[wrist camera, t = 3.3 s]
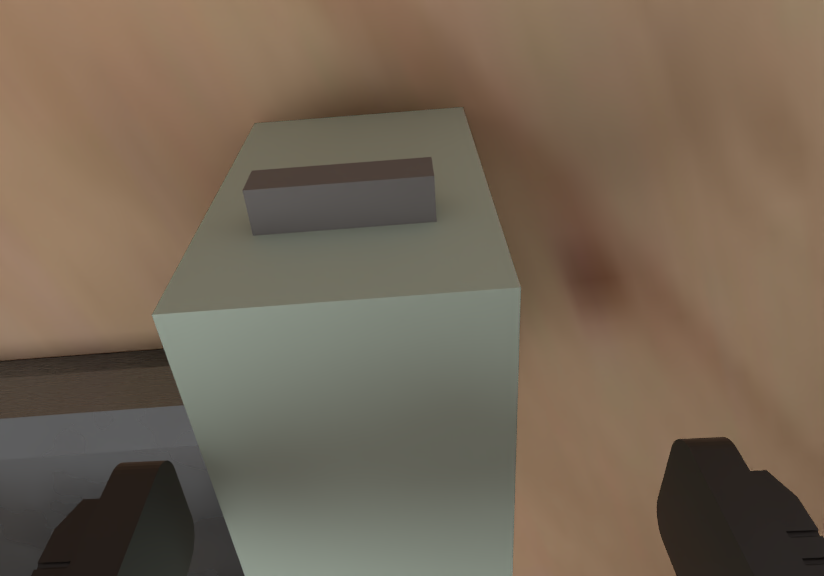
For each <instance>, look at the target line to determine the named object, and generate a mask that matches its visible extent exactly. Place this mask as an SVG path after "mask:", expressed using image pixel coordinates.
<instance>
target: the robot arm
mask: <svg viewBox="0 0 824 576" xmlns="http://www.w3.org/2000/svg"><path fill="white" fill-rule="evenodd" d="M657 519H658V525H659V530H660V534H661V537H662V540H663V543H664V545H665V548H666V550H667V553H668V555H669V558H670V560H671V563H672V565H673V568H674V570H675V573H676V575H677V576H824V538H823V536H819V533H818V528H817V527H816V525H815V524H814V522H813V521H812V519H811V517H810V516H809V514H808V513H807V511H806V510H805V508H804V506H803V505H802V503H801V502H800V500H799V499H798V497H797V496H795V495H794V494H793V493H792V492H791V491H790V490H789V489H787V488H786V487H785V486H784V485H783V484H782V483H781V482H779V481H778V480H777V479H776V478H775V477H774V476H772V475H771V474H770V473H769V472H768V471H767V470H763V471H750V470H749V468H748V467H747V465H746V463H745V461H744V460H743V458H742V456H741V455H740V453H739V451H738V450H737V448H736V447H735V445H734V444H733V443H732V441H731V440H729V439H728V438H725V437H716V438H694V439H678V440H676V441H675V442H674V443H673V445H672V448H671V452H670V455H669V459H668V463H667V466H666V470H665V474H664V478H663V481H662V485H661V489H660V492H659V496H658V500H657ZM194 538H195V533H194V522H193V518H192V515H191V512H190V510H189V507H188V504H187V501H186V498H185V496H184V493H183V490H182V487H181V484H180V482H179V479H178V476H177V473H176V470H175V468H174V465H173V464H172V463H171V462H170V461H168V460H166V461H144V462H123V463H120V464H118V465H117V466H116V467H115V468H114V470H113V471H112V473H111V475H110V477H109V480H108V482H107V484H106V486H105V488H104V490H103V493H102V495H101V497H100V499H83V500H82V501H81V502H80V503H79V504H78V505H77V506H76V507H75V508H74V509H73V510H72V511H71V512H70V513H69V514H68V515H67V516H66V518H65V519H64V520H63V521H62V522H61V523H60V524H59V525H58V526H57V527H56V528H55V529H54V531H53V533H52V535H51V537H50V539H49V541H48V543H47V545H46V547H45V549H44V551H43V553H42V555H41V557H40V559H39V561H38V567H37V569H36V570H34V571H33V573H32V575H31V576H187V574H188V570H189V567H190V563H191V560H192V555H193V550H194Z"/></svg>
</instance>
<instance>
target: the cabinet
mask: <svg viewBox="0 0 824 576" xmlns="http://www.w3.org/2000/svg"><path fill="white" fill-rule="evenodd" d="M520 300H521V286H520V283H519V280H518V277H517V274H516V271H515V268H514V265H513V261H512V258H511V255H510V252H509V249H508V246H507V243H506V240H505V237H504V233H503V230H502V227H501V224H500V221H499V218H498V215H497V212H496V209H495V206H494V202H493V199H492V196H491V193H490V190H489V187H488V184H487V181H486V178H485V174H484V171H483V168H482V165H481V162H480V159H479V156H478V153H477V150H476V147H475V143H474V140H473V137H472V134H471V131H470V128H469V125H468V122H467V119H466V115H465V112H464V109H463V107H456V108H443V109H430V110H418V111H405V112H392V113H379V114H366V115H354V116H341V117H328V118H315V119H303V120H290V121H277V122H264V123H255V124H254V126H253V127H252V129H251V131H250V133H249V135H248V137H247V139H246V140H245V142H244V144H243V146H242V148H241V150H240V152H239V153H238V155H237V157H236V159H235V161H234V163H233V165H232V167H231V168H230V170H229V172H228V174H227V176H226V178H225V180H224V181H223V183H222V185H221V187H220V189H219V191H218V193H217V194H216V196H215V198H214V200H213V202H212V204H211V206H210V207H209V209H208V211H207V213H206V215H205V217H204V219H203V221H202V222H201V224H200V226H199V228H198V230H197V232H196V234H195V235H194V237H193V239H192V241H191V243H190V245H189V247H188V248H187V250H186V252H185V254H184V256H183V258H182V260H181V261H180V263H179V265H178V267H177V269H176V271H175V273H174V275H173V276H172V278H171V280H170V282H169V284H168V286H167V288H166V289H165V291H164V293H163V295H162V297H161V299H160V301H159V302H158V304H157V306H156V308H155V310H154V312H153V314H152V317H153V320H154V322H155V325H156V328H157V331H158V334H159V336H160V339H161V342H162V345H163V348H164V350H165V353H166V356H167V359H168V362H169V365H170V367H171V370H172V373H173V376H174V379H175V381H176V384H177V387H178V390H179V393H180V395H181V398H182V401H183V404H184V407H185V409H186V412H187V415H188V418H189V421H190V423H191V426H192V429H193V432H194V435H195V437H196V440H197V443H198V446H199V449H200V451H201V454H202V457H203V460H204V463H205V465H206V468H207V471H208V474H209V477H210V480H211V482H212V485H213V488H214V491H215V494H216V496H217V499H218V502H219V505H220V508H221V510H222V513H223V516H224V519H225V522H226V524H227V527H228V530H229V533H230V536H231V538H232V541H233V544H234V547H235V550H236V552H237V555H238V558H239V561H240V564H241V566H242V569H243V572H244V575H245V576H512V572H513V538H514V504H515V470H516V436H517V402H518V368H519V334H520Z"/></svg>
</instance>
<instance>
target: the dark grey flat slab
mask: <svg viewBox="0 0 824 576" xmlns="http://www.w3.org/2000/svg"><path fill="white" fill-rule="evenodd" d="M166 460H168V461H170V462H171V463H172V464H173V465H174V468H175V470H176V473H177V476H178V479H179V482H180V484H181V487H182V490H183V493H184V496H185V498H186V501H187V504H188V507H189V510H190V512H191V515H192V518H193V522H194V533H195V538H194V550H193V555H192V560H191V563H190V567H189V570H188V574H187V576H245V575H244V572H243V569H242V566H241V564H240V561H239V558H238V555H237V552H236V550H235V547H234V544H233V541H232V538H231V536H230V533H229V530H228V527H227V524H226V522H225V519H224V516H223V513H222V510H221V508H220V505H219V502H218V499H217V496H216V494H215V491H214V488H213V485H212V482H211V480H210V477H209V474H208V471H207V468H206V465H205V463H204V460H203V457H202V454H201V451H200V449H199V446H198V443H197V440H196V437H195V435H194V432H193V429H192V426H191V423H190V421H189V418H188V415H187V412H186V409H185V407H184V404H183V401H182V398H181V395H180V393H179V390H178V387H177V384H176V381H175V379H174V376H173V373H172V370H171V367H170V365H169V362H168V359H167V356H166V353H165V350H164V349H162V350H148V351H135V352H122V353H108V354H95V355H82V356H68V357H55V358H42V359H28V360H15V361H2V362H0V576H31V575H32V573H33V571H34V570H36V569H37V567H38V561H39V559H40V557H41V555H42V553H43V551H44V549H45V547H46V545H47V543H48V541H49V539H50V537H51V535H52V533H53V531H54V529H55V528H56V527H57V526H58V525H59V524H60V523H61V522H62V521H63V520H64V519H65V518H66V516H67V515H68V514H69V513H70V512H71V511H72V510H73V509H74V508H75V507H76V506H77V505H78V504H79V503H80V502H81V501H82V500H83V499H100V497H101V495H102V493H103V490H104V488H105V486H106V484H107V482H108V480H109V477H110V475H111V473H112V471H113V470H114V468H115V467H116V466H117V465H118V464H120V463H123V462H144V461H166Z"/></svg>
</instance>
